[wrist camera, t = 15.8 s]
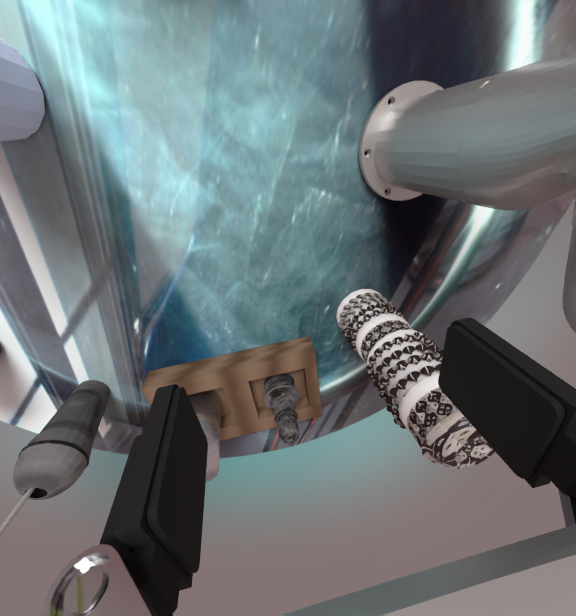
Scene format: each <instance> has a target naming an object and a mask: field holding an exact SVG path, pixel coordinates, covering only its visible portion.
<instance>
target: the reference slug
mask: <svg viewBox="0 0 576 616" xmlns="http://www.w3.org/2000/svg"><path fill="white" fill-rule="evenodd" d="M188 397H189V399H190V401H191V404H192V406H193V408H194V410H195V413H196V415H197V417H198V419H199V422H200V424H201V426H202V428H203V431H204V433H205V435H206V438H207V442H208V455H207V468H206V482H208V481H210V480H212V479H213V478H214V477H215V476H216V475H217V474H218V471H219V452H220V422H221V397H220V395H219V394H218V393H217V392H215V391H213V390H208V391H204V392H200V393H195V394H191V395H188ZM206 482H205V483H206Z"/></svg>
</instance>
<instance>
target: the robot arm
mask: <svg viewBox="0 0 576 616" xmlns="http://www.w3.org/2000/svg"><path fill="white" fill-rule="evenodd" d="M388 100H389V104H388ZM365 151H366V155H364V153H365ZM359 164H360V169H361V172H362V175H363V178H364V179H365V181H366V183H367V185H368V186H369V187H370V188H371V189H372V191H374V192H375V193H376V194H378V195H379V196H381V197H384V198H386V199H390V200H394V201H404V200H410V199H413V198H415V197H418V196H420V195H422V194H423V193H424V194H428V195H433V196H437V197H442V198H447V199H451V200H456V201H460V202H465V203H469V204H474V205H479V206H484V207H488V208H493V209H499V210H522V209H527V208H532V207H535V206H538V205H541V204H544V203H546V202H549V201H551V200H553V199H555V198H557V197H559V196H561V195H563V194H565V193H567V192H569V191H571V190H572V189H573V192H574V198H575V202H574V212H573V220H572V225H573V229H572V236H571V241H570V248H569V254H568V260H567V267H566V273H565V282H564V290H563V309H564V314H565V317H566V320H567V321H568V323H569V324H570V326H571V328H572V329H573V330H574V332H575V333H576V50H575V51H572V52H569V53H566V54H562V55H559V56H556V57H553V58H549V59H546V60H543V61H539V62H536V63H532V64H529V65H526V66H523V67H520V68H517V69H513V70H510V71H506V72H503V73H499V74H496V75H492V76H489V77H486V78H482V79H479V80H475V81H472V82H468V83H465V84H461V85H458V86H454V87H451V88H447V89H443V88H442V87H440V86H438V85H437V84H435V83H432V82H428V81H413V82H409V83H405V84H403V85H401V86H398V87H396V88H395V89H393V90H391V91H390V92H388V93H387V94H386V95H385V96H384V97H383V98H382V99H381V100H380V101H379V102H378V103H377V104H376V105H375V107H374V108H373V109H372V111H371V112H370V114H369V116H368V118H367V120H366V122H365V124H364V127H363V130H362V133H361V137H360V143H359ZM385 190H386V192H385ZM438 384H439V387H440V389H441V390H442V392H443V393H444V394H445V395H446V396H447V397H448V398H449V400H450V401H451V402H452V403H453V404H454V405H455V406H456V408H457V409H458V410H459V411H460V412H461V413H462V414H463V415H464V417H465V418H466V419H467V420H468V421H469V422H470V423H471V424H472V426H473V427H474V428H475V429H476V430H477V431H478V432H479V433H480V435H481V436H482V437H483V438H484V439H485V440H486V441H487V443H488V444H489V445H490V446H491V447H492V448H493V449H494V450H495V452H496V453H497V454H498V455H499V456H500V457H501V458H502V459H503V460H504V462H505V463H506V464H507V465H508V466H509V467H510V468H511V470H512V471H513V472H514V473H515V474H516V475H517V476H519V477H520V478H524V479H525V480H526V481H527V482H528V483H529V484H530V485H531V487H532V488H535V487H538V486H542V485H546V484H548V483H550V481H552V482H553V483H554V485H555V486H556V487H557V488H558V489H559V493H560V499H561V504H562V509H563V514H564V519H565V524H566V528H563V529H560V530H556V531H552V532H549V533H546V534H543V535H539V536H536V537H533V538H529V539H526V540H522V541H519V542H516V543H513V544H510V545H506V546H503V547H499V548H496V549H493V550H489V551H486V552H483V553H480V554H476V555H473V556H470V557H467V558H464V559H460V560H457V561H454V562H450V563H447V564H444V565H440V566H437V567H434V568H431V569H427V570H424V571H421V572H418V573H414V574H411V575H408V576H405V577H402V578H398V579H395V580H392V581H388V582H385V583H382V584H379V585H375V586H372V587H369V588H366V589H363V590H360V591H356V592H353V593H350V594H347V595H344V596H340V597H337V598H334V599H331V600H328V601H324V602H321V603H318V604H315V605H312V606H308V607H305V608H302V609H299V610H296V611H292V612H289V613H286V614H283V615H280V616H576V389H575V388H574V387H572V386H571V385H569V384H568V383H566V382H564V381H563V380H562V379H560V378H559V377H557V376H556V375H555V374H553V373H552V372H550V371H549V370H547V369H546V368H544V367H543V366H541V365H540V364H538V363H537V362H536V361H534V360H533V359H531V358H530V357H528V356H527V355H525V354H524V353H523V352H521V351H520V350H518V349H517V348H515V347H513V346H512V345H511V344H509V343H508V342H506V341H505V340H504V339H502V338H501V337H499V336H498V335H496V334H495V333H493V332H492V331H490V330H489V329H488V328H486V327H485V326H483V325H482V324H480V323H479V322H477V321H476V320H474V319H472V318H466V319H462V320H457V321H454V322H452V323H451V326H450V327H448V330H447V334H446V340H445V345H444V351H443V356H442V362H441V367H440V373H439V378H438ZM207 455H208V442H207V438H206V435H205V433H204V431H203V428H202V426H201V424H200V422H199V419H198V417H197V415H196V413H195V410H194V408H193V406H192V404H191V401H190V399H189V397H188V395H187V392H186V390H185V388H184V387H180V388H179V386H178V385H177V384H173V385H168V386H164V387H160V388H158V389H157V390H156V392H155V395H154V399H153V402H152V405H151V409H150V412H149V415H148V418H147V422H146V425H145V428H144V431H143V434H142V435H139V436H137V437H136V438H135V440H134V442H133V444H132V447H131V450H130V453H129V457H128V459H127V462H126V466H125V468H124V472H123V475H122V478H121V481H120V484H119V487H118V490H117V493H116V496H115V499H114V502H113V505H112V508H111V511H110V514H109V517H108V520H107V523H106V526H105V529H104V532H103V535H102V538H101V541H100V544H99V545H95V546H92V547H90V548H88V549H86V550H84V551H82V552H81V553H80V554H79V555H77V556H76V557H75V558H73V559H72V560H71V561H70V562H69V563H68V564H67V565H66V567H65V568H64V569H63V570H62V571H61V572H60V573H59V575H58V576H57V578H56V579H55V581H54V582H53V584H52V585H51V587H50V589H49V591H48V593H47V595H46V598H45V600H44V603H43V607H42V611H41V615H40V616H177V615H176V614H175V610H176V609H177V605H178V596H179V591H180V590H183V589H187V588H190V587H191V586H192V576H193V573H195V572H197V571H198V569H199V563H200V551H201V537H202V524H203V523H202V522H203V510H204V496H205V482H206V468H207Z"/></svg>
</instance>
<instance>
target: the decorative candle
mask: <svg viewBox="0 0 576 616" xmlns="http://www.w3.org/2000/svg"><path fill="white" fill-rule="evenodd" d="M397 312H398V310H397V309H396V308H395V307H392V304H391V303H390V302H389V301H387V299H386V298H385V297H383V296H381V294H380V293H379V292H376V291H374V290H372V289H360V290H357V291H355V292H352V293H350V294H349V295H348V296H347V297H346V298H344V299H343V300H342V302H341V304H340V305H339V307H338V309H337V315H336V319H337V322H338V325H339V327H340V328H341V331H344V332H345V333H344V336H345V337H347V336H348V337H349V340H348V342H349V343H350V344H353V345H352V349H353V350H355V351H357V354H358V355H359V356H360V357H361V358H362V359H363V360H364V361H365V362H366V365H367V370H368V373H369V376H370V377H373V380H374V381H375V382H374V387H375V388H378V390H379V391H380V397H381V398H383V399H385V401H386V404H387V411H389V412H392V414H393V417H395V418H394V422H395V423H396V424H398V425H400V427H401V428H407V429H408V430H409V431H410V432H411V433H412V435H413V436H414V438H415V439H416V441H417V442H418V444H419V445H420V447H421V449H422V454H423V456H424V457H425V458H426V459H427V460H428V461H429V462H435V463H440V464H443V465H445V466H447V467H451V468H457V469H460V468H467V467H470V466H473V465H476V464H479V463H480V462H482V461H484V460H486V459H487V458H488V457H490V456H491V455H492V454H493V453H494V452H495V450H494V449H493V448H492V447H491V446H490V445H489V444H488V443H487V441H486V440H485V439H484V438H483V437H482V436H481V435H480V433H479V432H478V431H477V430H476V429H475V428H474V427H473V426H472V424H471V423H470V422H469V421H468V420H467V419H466V418H465V417H464V415H463V414H462V413H461V412H460V411H459V410H458V409H457V408H456V406H455V405H454V404H453V403H452V402H451V401H450V400H449V398H448V397H447V396H446V395H445V394H444V393H443V392H442V390H441V389H440V387H439V384H438V378H439V373H440V367H441V362H442V356H443V351H444V350H440V349H439V348H438V347H436V346H434V342H433V341H432V340H427V336H426V335H425V334H424V335H423V334H422V333H420V332H418V331H415V330H413V329H412V328H411V327H410V325H409V324H408V323H407V320H406V319H403V314H402V313H397ZM379 382H380V383H381V384H380V383H379ZM386 393H387V395H386ZM393 403H394V404H393ZM394 405H395V407H396V408H397V409H398V410H396V408H393V406H394ZM399 416H400V418H399Z"/></svg>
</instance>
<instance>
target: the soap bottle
mask: <svg viewBox="0 0 576 616" xmlns="http://www.w3.org/2000/svg"><path fill="white" fill-rule="evenodd" d="M44 114H45V108H44V95H43V92H42V89H41V87H40V85H39V83H38V80H37V78H36V76H35V73H34V71H33V70H32V69H31V67H30V66H29V65H28V64H27V62H26V61H25V60H24V59H23V57H22V56H21V55H20V54H19V53H18V51H17V50H16V49H15V48H14V47H12V46H11V45H9V44H8V43H7V42H5V41H4V40H3V39H1V38H0V141H13V140H21V139H26V138H28V137H29V136H30V135H32V134H33V133H34V132H36V131H37V130H39V127H40V125H41V122H42V120H43V117H44Z"/></svg>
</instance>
